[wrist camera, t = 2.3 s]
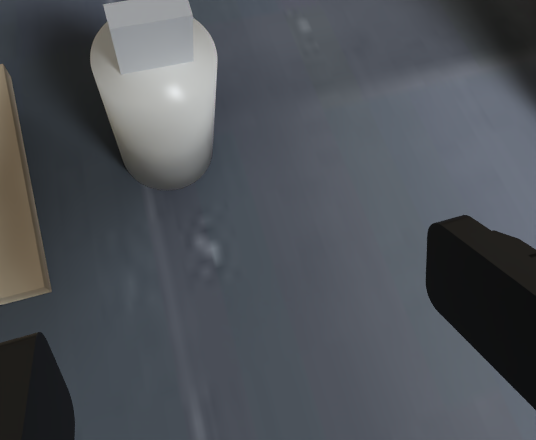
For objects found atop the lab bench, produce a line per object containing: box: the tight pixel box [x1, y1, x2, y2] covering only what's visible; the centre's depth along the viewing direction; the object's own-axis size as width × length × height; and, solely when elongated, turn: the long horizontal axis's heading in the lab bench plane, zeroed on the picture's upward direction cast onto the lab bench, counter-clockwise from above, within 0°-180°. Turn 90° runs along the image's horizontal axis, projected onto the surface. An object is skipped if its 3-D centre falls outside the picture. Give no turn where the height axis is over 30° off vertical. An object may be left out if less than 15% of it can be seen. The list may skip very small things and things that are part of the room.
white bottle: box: [90, 0, 217, 190], centre depth 22 cm, size 5×5×11 cm
